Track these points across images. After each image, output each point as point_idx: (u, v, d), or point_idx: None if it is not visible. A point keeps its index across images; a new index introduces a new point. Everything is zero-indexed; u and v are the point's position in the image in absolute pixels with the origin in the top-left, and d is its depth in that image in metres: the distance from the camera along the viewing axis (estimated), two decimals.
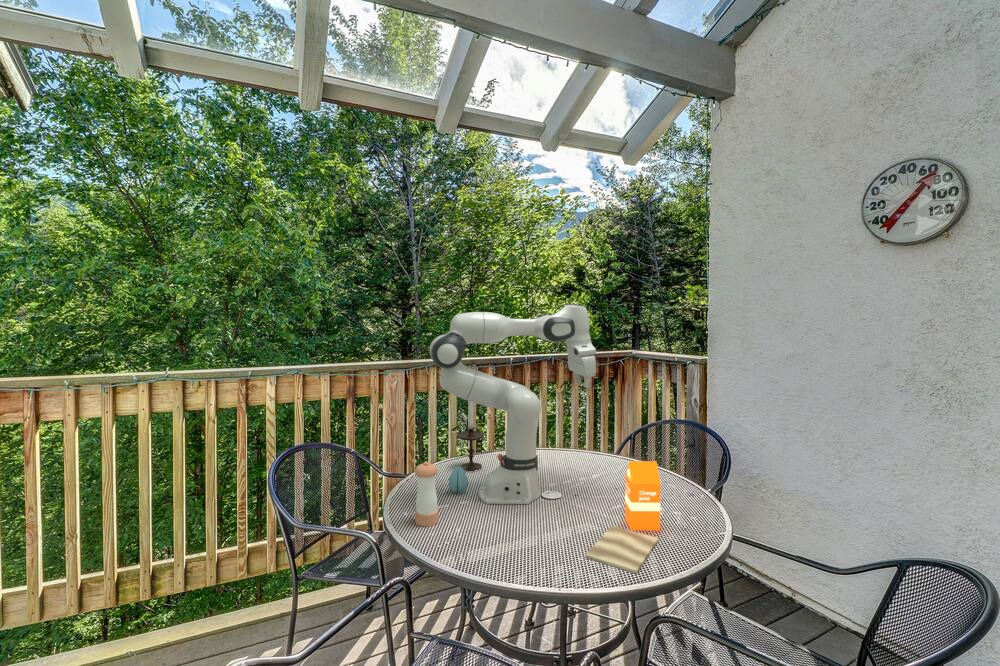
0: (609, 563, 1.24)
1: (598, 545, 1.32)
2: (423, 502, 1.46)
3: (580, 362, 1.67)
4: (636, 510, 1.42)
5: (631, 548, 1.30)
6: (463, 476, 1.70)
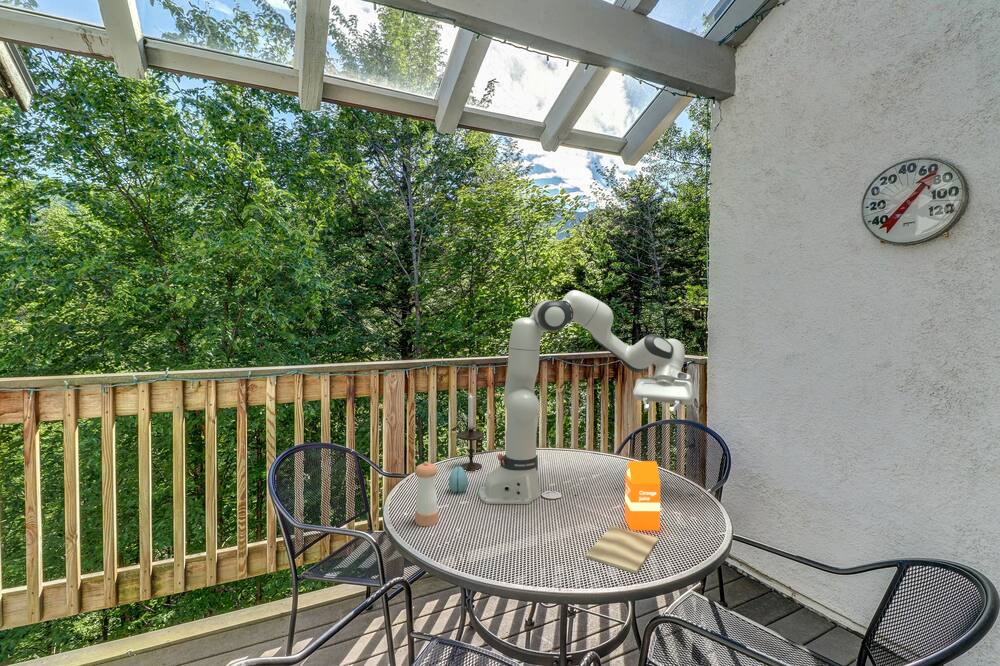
0: (609, 563, 1.24)
1: (598, 545, 1.32)
2: (423, 502, 1.46)
3: (676, 387, 1.61)
4: (636, 510, 1.42)
5: (631, 548, 1.30)
6: (463, 476, 1.71)
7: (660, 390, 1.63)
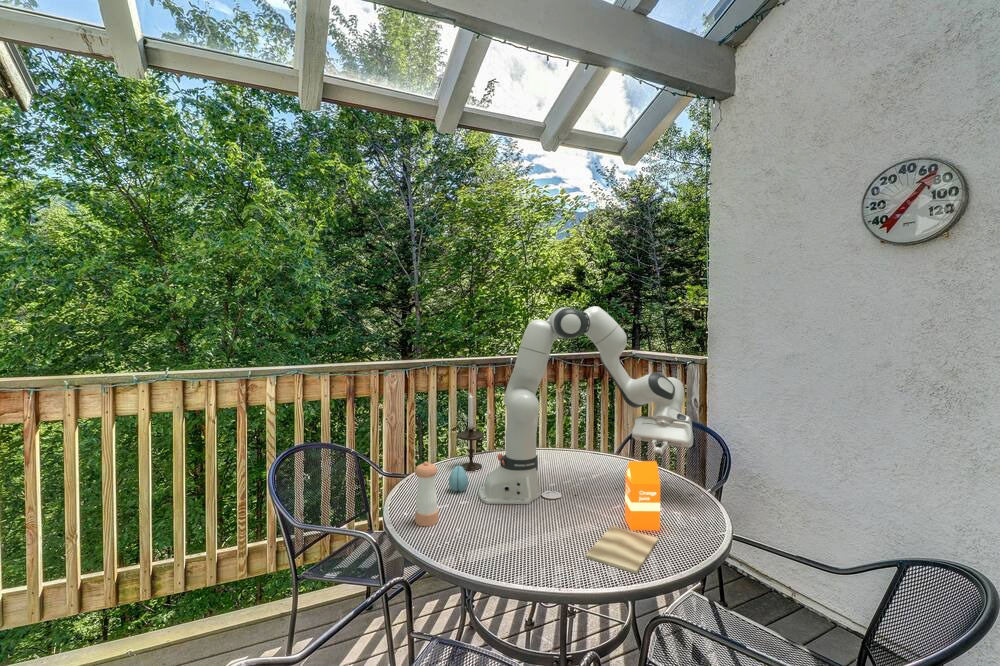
0: (609, 563, 1.24)
1: (598, 545, 1.32)
2: (423, 502, 1.46)
3: (675, 429, 1.61)
4: (636, 510, 1.42)
5: (631, 548, 1.30)
6: (463, 475, 1.71)
7: (659, 431, 1.63)
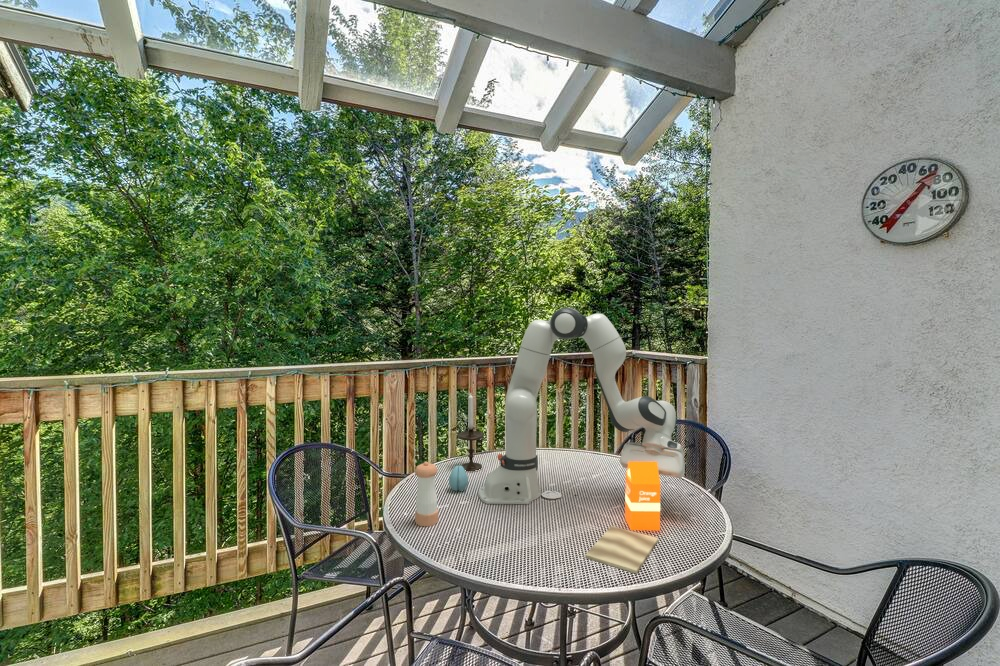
0: (609, 563, 1.24)
1: (598, 545, 1.32)
2: (423, 502, 1.46)
3: (666, 457, 1.51)
4: (636, 510, 1.42)
5: (631, 548, 1.30)
6: (463, 474, 1.72)
7: (649, 459, 1.53)
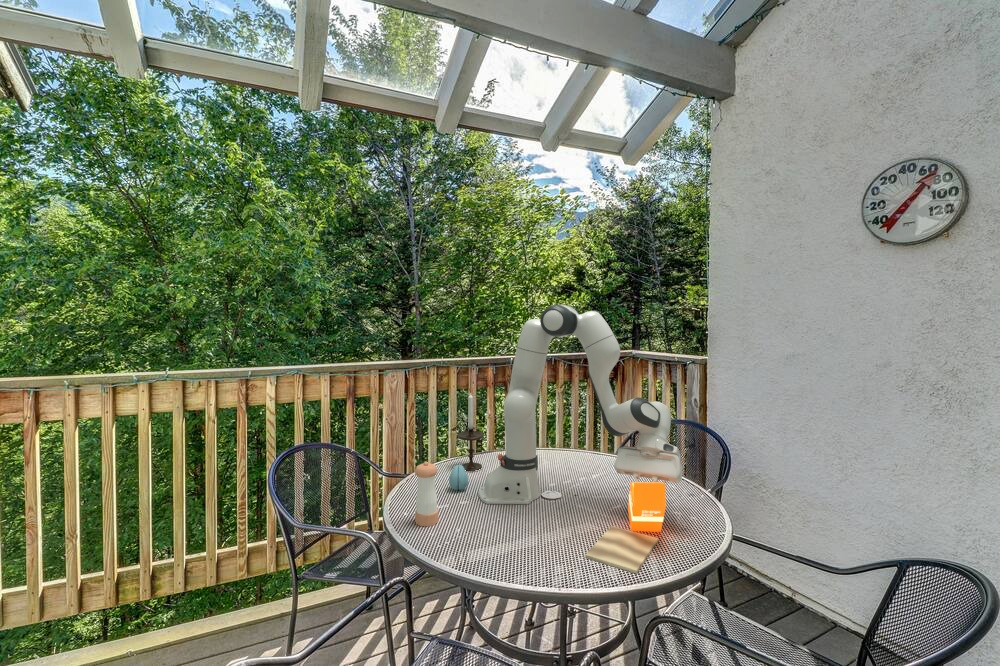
0: (609, 563, 1.24)
1: (598, 545, 1.32)
2: (423, 502, 1.46)
3: (662, 461, 1.44)
4: (637, 520, 1.38)
5: (631, 548, 1.30)
6: (463, 474, 1.72)
7: (644, 464, 1.46)
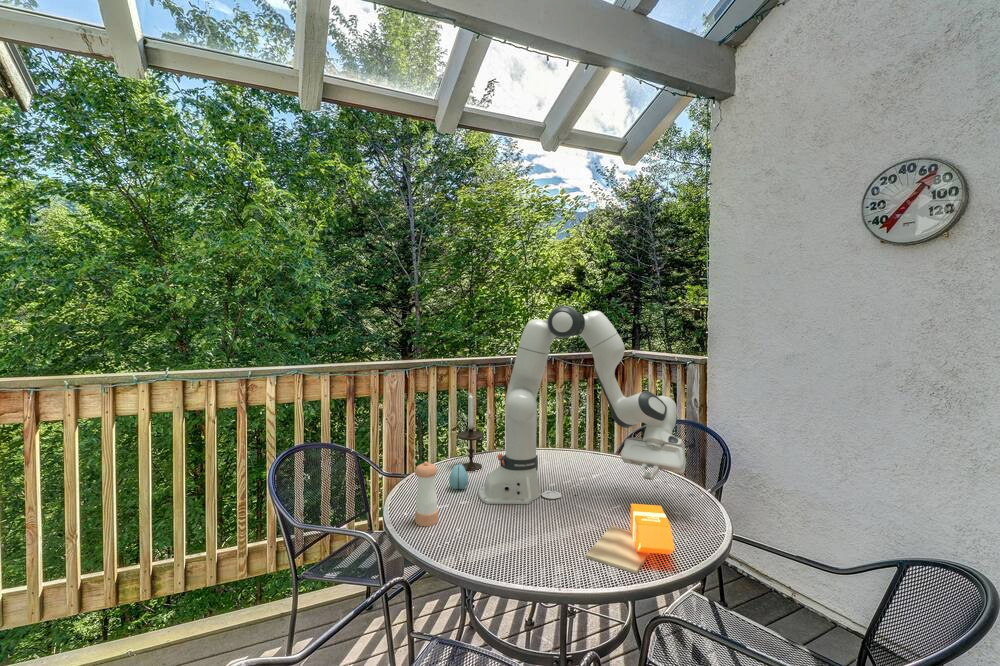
0: (609, 563, 1.24)
1: (598, 545, 1.32)
2: (423, 502, 1.46)
3: (667, 452, 1.51)
4: None
5: (631, 548, 1.30)
6: (464, 473, 1.73)
7: (649, 454, 1.53)
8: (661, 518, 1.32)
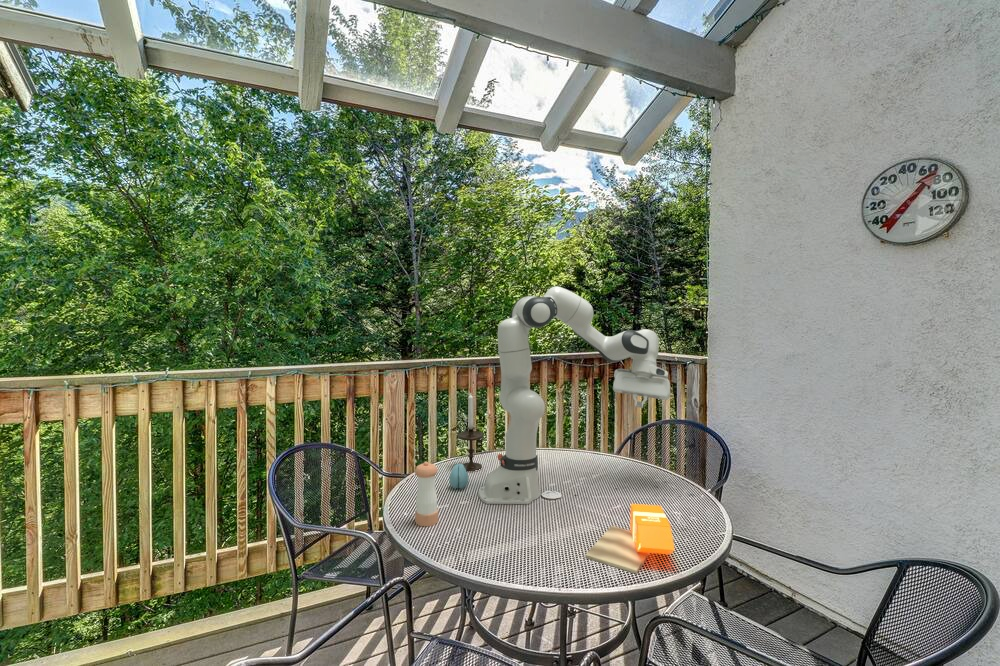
0: (609, 563, 1.24)
1: (598, 545, 1.32)
2: (423, 502, 1.46)
3: (654, 383, 1.72)
4: None
5: (631, 548, 1.30)
6: (464, 472, 1.74)
7: (639, 385, 1.72)
8: (661, 518, 1.32)
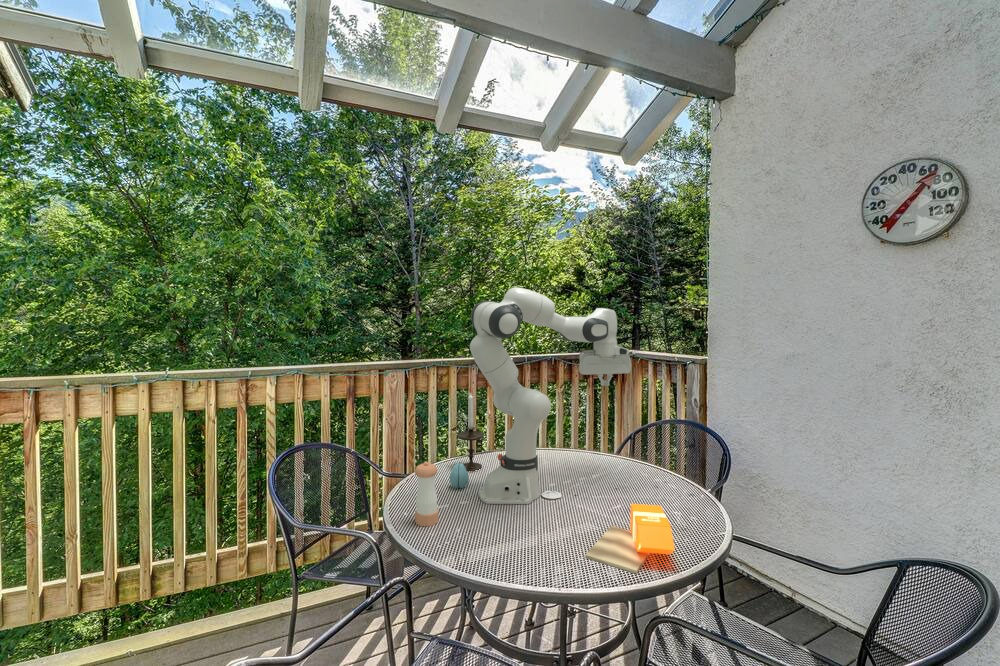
0: (609, 563, 1.24)
1: (598, 545, 1.32)
2: (423, 502, 1.46)
3: (617, 361, 1.81)
4: None
5: (631, 548, 1.30)
6: (464, 472, 1.74)
7: (605, 367, 1.80)
8: (661, 518, 1.32)
